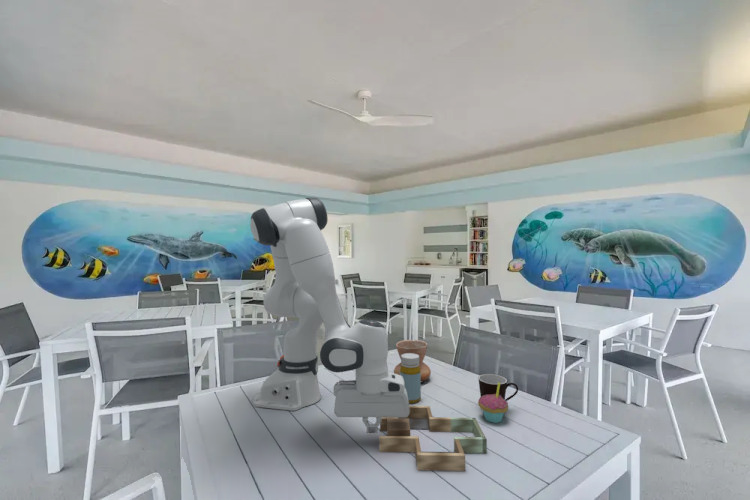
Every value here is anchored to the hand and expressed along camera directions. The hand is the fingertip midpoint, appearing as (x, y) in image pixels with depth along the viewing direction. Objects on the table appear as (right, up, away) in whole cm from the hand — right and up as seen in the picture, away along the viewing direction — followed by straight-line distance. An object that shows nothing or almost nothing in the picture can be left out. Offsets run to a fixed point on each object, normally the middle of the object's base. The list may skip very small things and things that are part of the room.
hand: (372, 431), depth 92 cm
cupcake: (+36, -2, +11) cm, 38 cm away
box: (+15, -2, 0) cm, 15 cm away
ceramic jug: (+15, -2, +43) cm, 45 cm away
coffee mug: (+40, -2, +16) cm, 43 cm away
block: (+7, -2, 0) cm, 7 cm away
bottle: (+13, -2, +25) cm, 28 cm away
